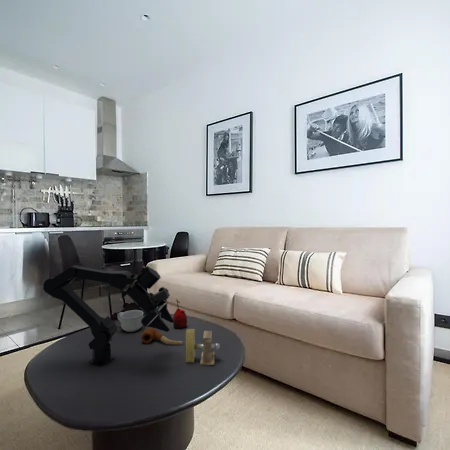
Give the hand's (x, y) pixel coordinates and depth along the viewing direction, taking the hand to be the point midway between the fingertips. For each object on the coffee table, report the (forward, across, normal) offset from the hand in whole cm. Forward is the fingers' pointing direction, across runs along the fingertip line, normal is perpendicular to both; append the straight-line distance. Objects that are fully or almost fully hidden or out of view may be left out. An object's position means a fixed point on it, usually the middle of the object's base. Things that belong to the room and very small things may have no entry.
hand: (171, 326), depth 105 cm
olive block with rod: (+18, 0, 0) cm, 18 cm away
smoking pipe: (+4, +17, +14) cm, 23 cm away
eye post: (+19, 0, -1) cm, 19 cm away
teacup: (-9, +32, +28) cm, 43 cm away
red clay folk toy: (+8, +34, +10) cm, 37 cm away
